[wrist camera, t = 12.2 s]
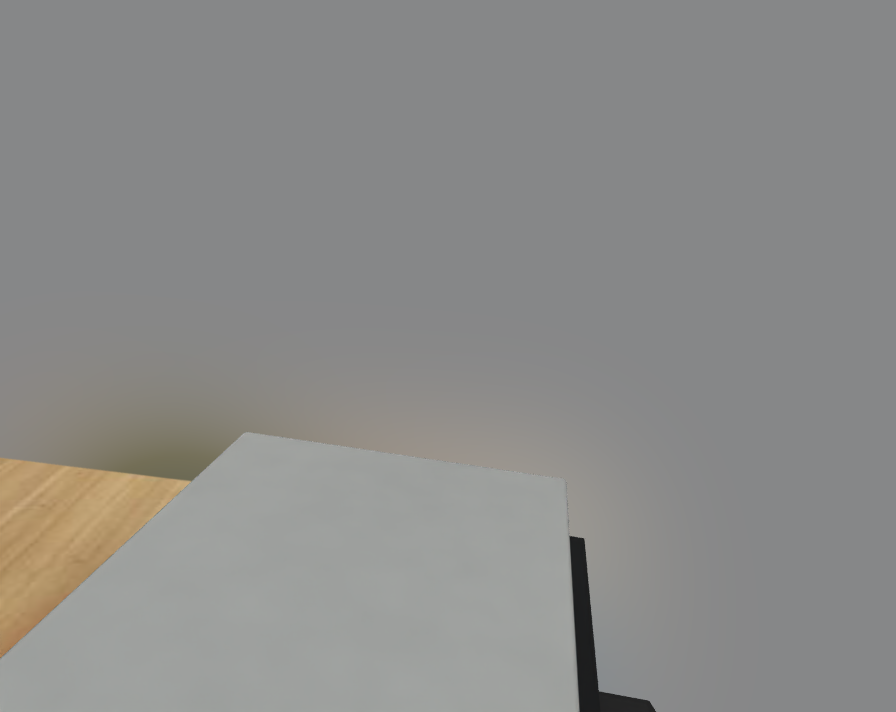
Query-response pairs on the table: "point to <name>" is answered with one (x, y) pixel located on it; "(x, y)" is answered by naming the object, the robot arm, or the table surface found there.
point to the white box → (320, 594)
